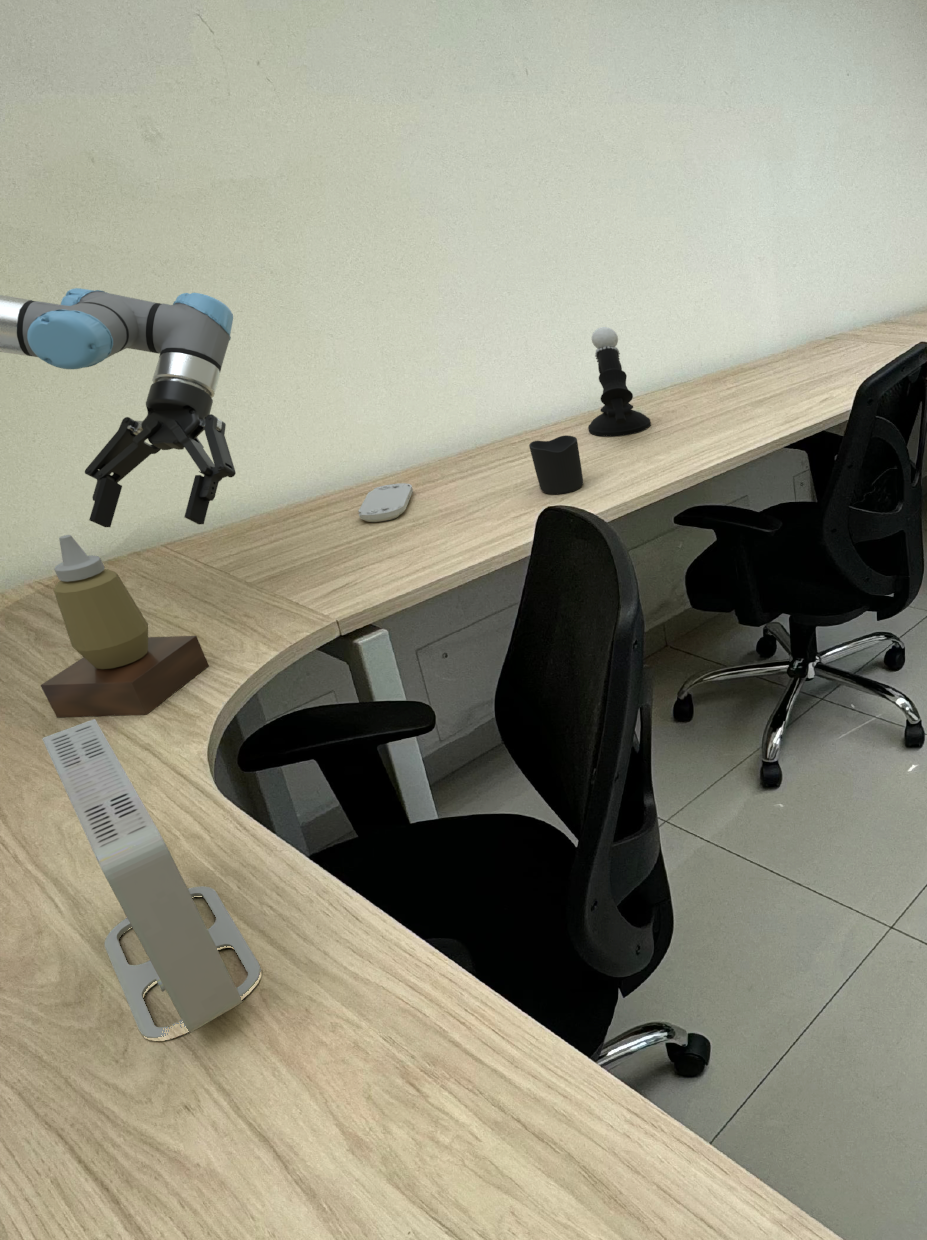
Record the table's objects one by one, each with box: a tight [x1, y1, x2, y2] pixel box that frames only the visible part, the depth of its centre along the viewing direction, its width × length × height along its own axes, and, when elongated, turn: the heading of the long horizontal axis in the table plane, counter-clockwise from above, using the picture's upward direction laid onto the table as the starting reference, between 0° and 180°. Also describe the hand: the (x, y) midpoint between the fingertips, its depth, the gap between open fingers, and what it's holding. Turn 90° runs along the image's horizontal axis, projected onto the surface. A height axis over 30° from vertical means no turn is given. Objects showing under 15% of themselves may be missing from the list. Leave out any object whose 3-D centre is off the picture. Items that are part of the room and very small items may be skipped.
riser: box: [40, 635, 210, 718], centre depth 123 cm, size 12×12×5 cm
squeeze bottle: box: [53, 534, 149, 669], centre depth 118 cm, size 8×8×18 cm
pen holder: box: [528, 435, 584, 495], centre depth 189 cm, size 9×9×10 cm
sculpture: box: [587, 326, 652, 437], centre depth 221 cm, size 15×24×25 cm, turn 20°
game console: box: [357, 482, 414, 523], centre depth 184 cm, size 18×2×8 cm
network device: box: [41, 718, 262, 1038], centre depth 78 cm, size 26×9×20 cm, turn 48°
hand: (146, 522), depth 129 cm, fingers open, 13 cm apart
